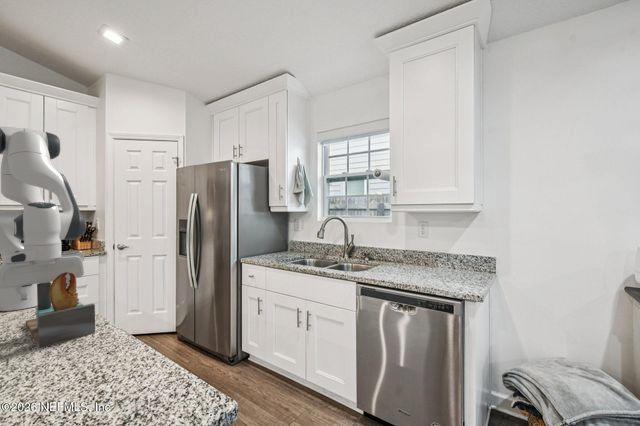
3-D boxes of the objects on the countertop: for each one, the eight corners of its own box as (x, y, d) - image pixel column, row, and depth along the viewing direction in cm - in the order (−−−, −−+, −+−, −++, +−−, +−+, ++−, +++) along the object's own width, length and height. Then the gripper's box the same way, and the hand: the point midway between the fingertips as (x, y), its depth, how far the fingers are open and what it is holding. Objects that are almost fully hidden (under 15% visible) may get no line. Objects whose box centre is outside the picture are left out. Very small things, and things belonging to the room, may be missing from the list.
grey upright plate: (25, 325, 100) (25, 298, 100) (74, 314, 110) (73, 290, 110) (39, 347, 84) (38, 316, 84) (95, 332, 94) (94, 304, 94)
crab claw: (50, 341, 88) (49, 275, 87) (49, 336, 91) (48, 272, 91) (80, 334, 93) (79, 271, 92) (78, 329, 96) (76, 268, 96)
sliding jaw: (36, 327, 94) (35, 283, 94) (77, 317, 102) (77, 277, 102) (40, 333, 90) (39, 287, 89) (83, 322, 98) (82, 280, 98)
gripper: (81, 248, 104) (82, 287, 104) (-5, 256, 88) (-4, 302, 88) (86, 250, 100) (87, 290, 100) (-3, 258, 84) (-2, 306, 84)
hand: (44, 296), depth 94 cm, fingers open, 8 cm apart
